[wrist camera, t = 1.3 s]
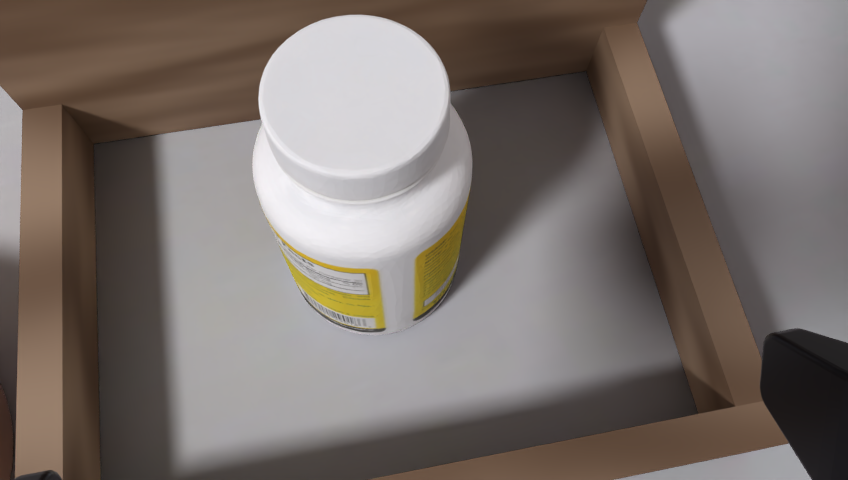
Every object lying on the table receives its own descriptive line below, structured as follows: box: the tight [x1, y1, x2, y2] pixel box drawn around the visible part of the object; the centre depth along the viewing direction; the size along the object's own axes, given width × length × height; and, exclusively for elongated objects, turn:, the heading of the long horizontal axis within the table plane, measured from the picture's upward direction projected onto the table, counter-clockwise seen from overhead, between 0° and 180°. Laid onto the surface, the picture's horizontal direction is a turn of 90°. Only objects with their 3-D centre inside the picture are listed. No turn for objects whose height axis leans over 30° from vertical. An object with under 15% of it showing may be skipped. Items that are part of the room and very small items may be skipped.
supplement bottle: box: [252, 15, 472, 335], centre depth 19 cm, size 5×5×10 cm
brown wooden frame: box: [0, 0, 789, 480], centre depth 19 cm, size 15×20×9 cm
